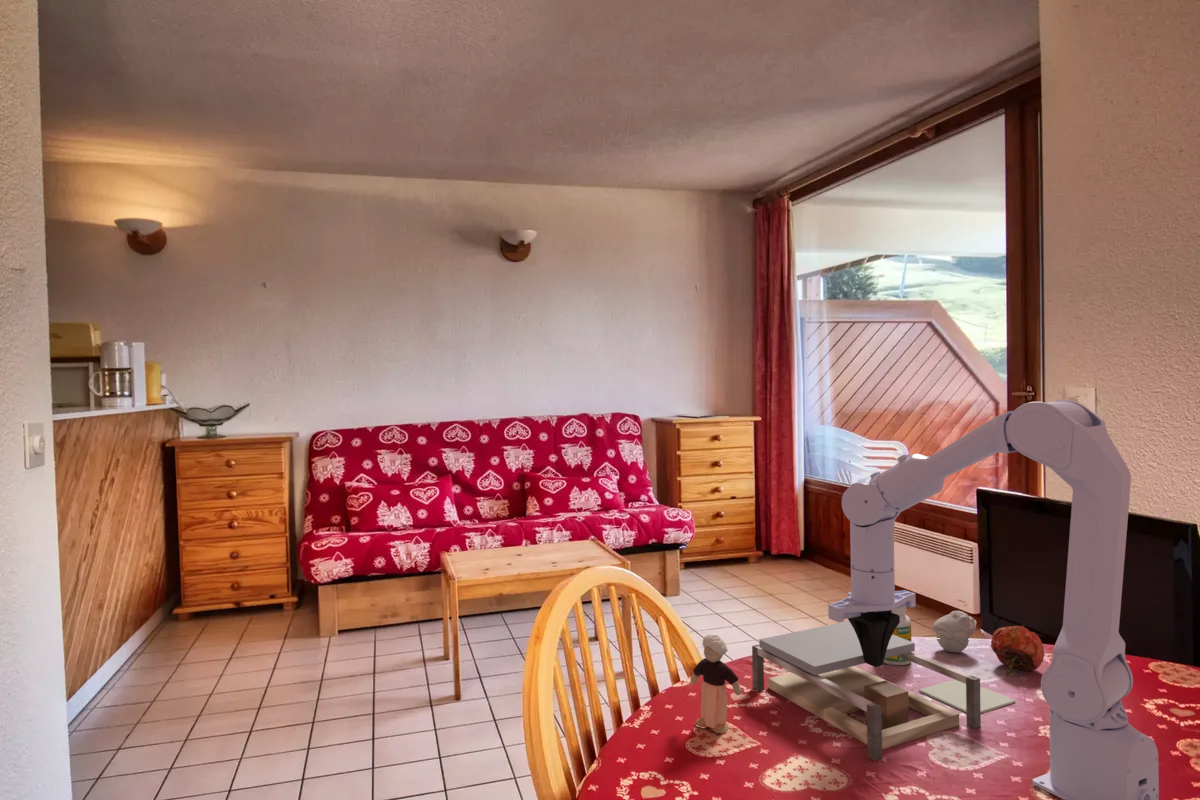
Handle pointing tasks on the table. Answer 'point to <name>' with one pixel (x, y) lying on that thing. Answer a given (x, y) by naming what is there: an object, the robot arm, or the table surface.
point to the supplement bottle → (901, 635)
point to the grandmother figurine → (714, 684)
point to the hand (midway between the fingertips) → (873, 664)
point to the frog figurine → (954, 631)
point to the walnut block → (889, 702)
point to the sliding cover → (827, 648)
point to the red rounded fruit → (1018, 648)
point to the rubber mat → (956, 696)
